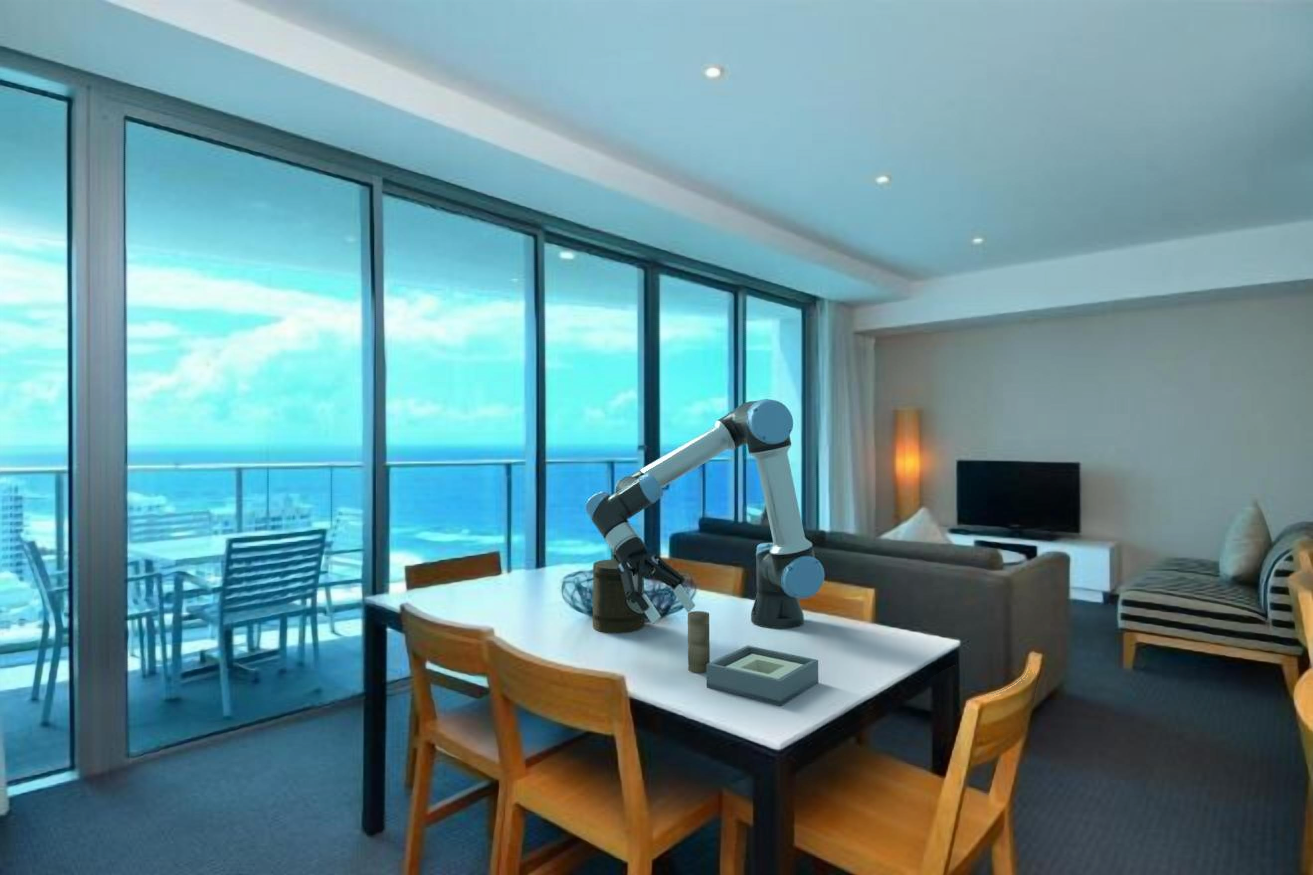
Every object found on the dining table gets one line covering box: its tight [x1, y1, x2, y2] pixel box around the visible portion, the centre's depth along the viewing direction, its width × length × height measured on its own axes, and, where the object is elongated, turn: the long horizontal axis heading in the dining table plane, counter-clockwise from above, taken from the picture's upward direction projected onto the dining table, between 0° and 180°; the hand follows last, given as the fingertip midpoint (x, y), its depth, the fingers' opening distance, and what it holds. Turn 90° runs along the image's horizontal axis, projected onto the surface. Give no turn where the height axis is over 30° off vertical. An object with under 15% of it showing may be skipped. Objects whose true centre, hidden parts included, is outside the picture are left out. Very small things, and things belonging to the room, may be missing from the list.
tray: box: [706, 645, 819, 707], centre depth 156 cm, size 17×18×5 cm
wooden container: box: [592, 551, 645, 634], centre depth 205 cm, size 15×15×22 cm
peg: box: [687, 610, 711, 674], centre depth 166 cm, size 5×5×13 cm
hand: (674, 614), depth 170 cm, fingers open, 13 cm apart
